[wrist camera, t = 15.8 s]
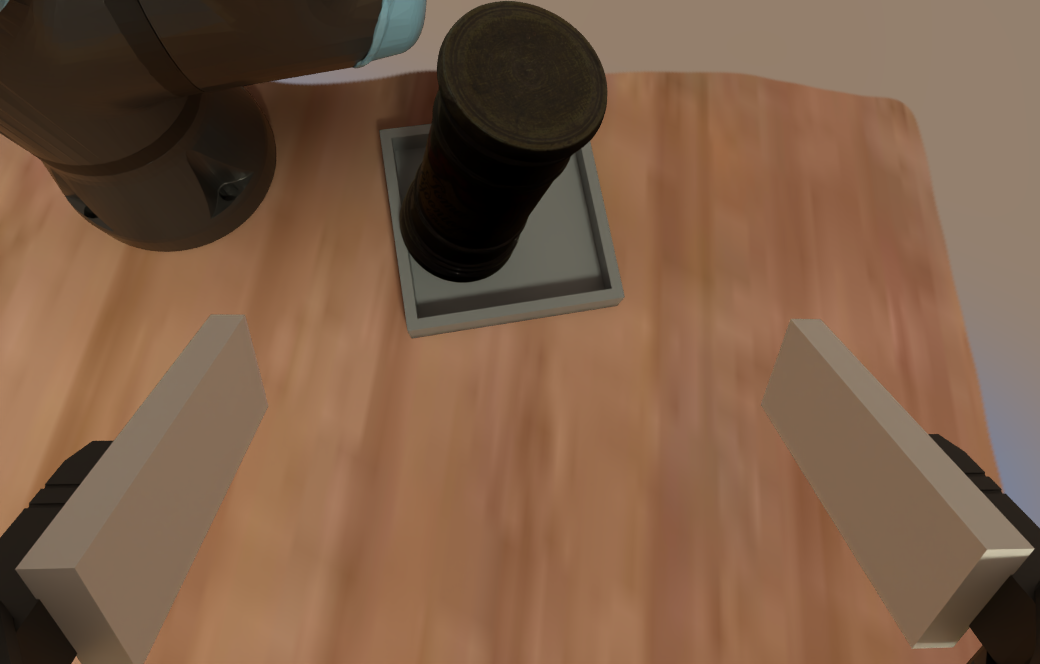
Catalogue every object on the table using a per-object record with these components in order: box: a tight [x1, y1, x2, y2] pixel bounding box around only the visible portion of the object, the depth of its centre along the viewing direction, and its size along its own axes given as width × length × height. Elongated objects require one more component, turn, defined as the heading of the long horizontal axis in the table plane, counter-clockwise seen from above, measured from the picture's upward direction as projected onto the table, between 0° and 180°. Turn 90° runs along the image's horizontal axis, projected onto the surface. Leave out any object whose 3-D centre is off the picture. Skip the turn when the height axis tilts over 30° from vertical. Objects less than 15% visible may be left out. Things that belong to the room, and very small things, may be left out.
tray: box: [379, 124, 624, 338], centre depth 44 cm, size 16×16×2 cm
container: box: [400, 1, 607, 283], centre depth 35 cm, size 9×9×18 cm
